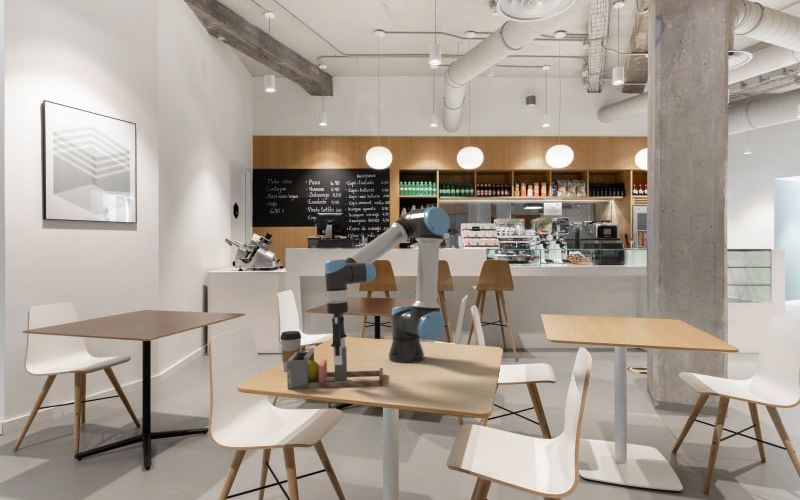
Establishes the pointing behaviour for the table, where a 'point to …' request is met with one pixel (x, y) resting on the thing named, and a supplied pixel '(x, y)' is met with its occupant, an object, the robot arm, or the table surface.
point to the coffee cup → (289, 345)
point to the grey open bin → (299, 369)
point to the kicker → (339, 369)
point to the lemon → (313, 371)
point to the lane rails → (351, 383)
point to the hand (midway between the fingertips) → (340, 359)
